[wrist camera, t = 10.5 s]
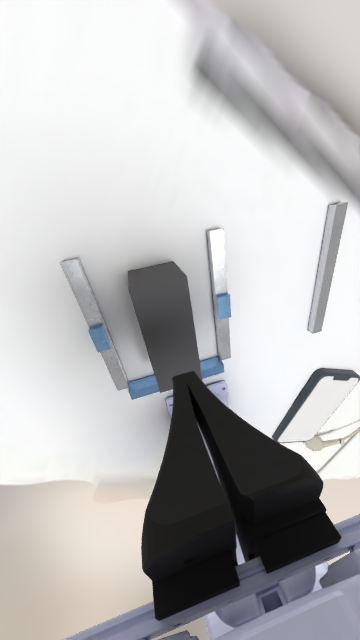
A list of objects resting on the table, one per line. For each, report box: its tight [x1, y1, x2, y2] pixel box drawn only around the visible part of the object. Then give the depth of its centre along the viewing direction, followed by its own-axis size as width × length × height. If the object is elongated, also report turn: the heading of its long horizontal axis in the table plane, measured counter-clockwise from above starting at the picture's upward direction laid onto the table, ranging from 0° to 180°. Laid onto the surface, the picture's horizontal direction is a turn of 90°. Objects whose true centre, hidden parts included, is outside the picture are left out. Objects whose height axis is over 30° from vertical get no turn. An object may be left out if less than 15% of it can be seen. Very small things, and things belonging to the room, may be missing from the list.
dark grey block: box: [128, 262, 202, 393], centre depth 19 cm, size 10×4×5 cm, turn 10°
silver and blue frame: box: [61, 202, 348, 400], centre depth 21 cm, size 15×25×2 cm, turn 100°
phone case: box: [273, 368, 360, 443], centre depth 34 cm, size 9×2×16 cm
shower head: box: [304, 427, 360, 451], centre depth 41 cm, size 5×3×20 cm
